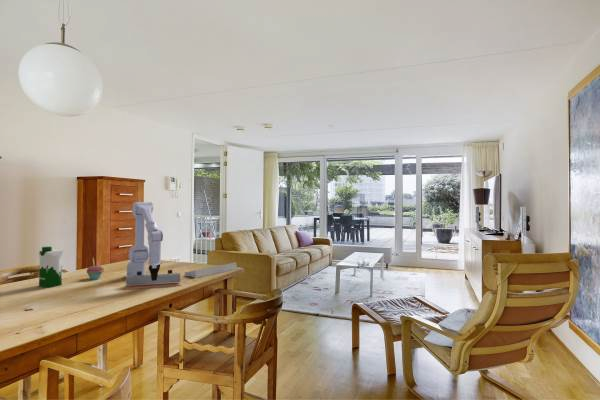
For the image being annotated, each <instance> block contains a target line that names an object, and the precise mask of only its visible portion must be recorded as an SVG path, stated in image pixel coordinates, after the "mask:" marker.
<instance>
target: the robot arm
mask: <svg viewBox="0 0 600 400" xmlns="http://www.w3.org/2000/svg"><path fill="white" fill-rule="evenodd" d="M153 211H154V203H153V202H152V201H150V202H149V201H134V202H133V204H132V216H133V217H135V218H134V219H135V223H134V225H135V227H134V229H135V230H134V231H135V233H134V234H135V235H134V236H135V237H134V245H132V246H131V247H130V248H129V252H128V260H129V262H128V263H127V265H126V276H125V277H126V278H127V276H136V275H137V271H142V275H148V274H146V263H148V265H149V266H148V270H149V272H150V275H151V279H152V281H156V280H157V275H158V274H159V271H160V269H161V264H163V263H164V261H161V256H162V255H161V253H162V251H161V250H162V242H163V240H164V234H163V231H162V230H161V229H159V227H158V224H157V221H156V220H154V217H153ZM145 229H146V232H147V244H148V246H147V245H145ZM147 261H148V262H147Z"/></svg>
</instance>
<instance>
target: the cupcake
mask: <svg viewBox="0 0 600 400" xmlns="http://www.w3.org/2000/svg"><path fill="white" fill-rule="evenodd" d="M92 264H93V265H92V266H90V267H88V268H87V269H86V274H87V275H88V277H89V279H90V280H99V279H100V278H101V275H102V273H104V272H105V269H104V267H102V266H101V265H95V264H96V263H95V258H94V257H92Z"/></svg>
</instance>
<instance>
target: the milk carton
mask: <svg viewBox="0 0 600 400" xmlns="http://www.w3.org/2000/svg"><path fill="white" fill-rule="evenodd" d="M63 254H64V250H61V249H55V248H54V249H53V248H52V246H41V250H38V257H39V273H38V274H39V278H38V280H39V281H38V286H39V287H42V288H45V289H47V288H53V287H58V286H62V285H63V284H62V282H63V281H62V278H63V276H62V273H63V271H62V268H63Z"/></svg>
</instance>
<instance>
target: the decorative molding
mask: <svg viewBox="0 0 600 400" xmlns="http://www.w3.org/2000/svg"><path fill="white" fill-rule="evenodd" d="M234 270H235V271H236V270H238V266H237V262H231V263H226V264H222V265H216V266H210V267H205V268H201V269H200V268H199V269H195V270H191V271H186V272H184V276H185V277H188V276H189V278H190V277H192V278H193V277H194V279H199V278H202V277H203V276H204V277H206V276H207V275H208V276H213V275H217V274H220V273H225V272H230V271H234ZM212 274H213V275H212ZM208 276H207V277H208ZM198 277H199V278H198Z"/></svg>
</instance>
